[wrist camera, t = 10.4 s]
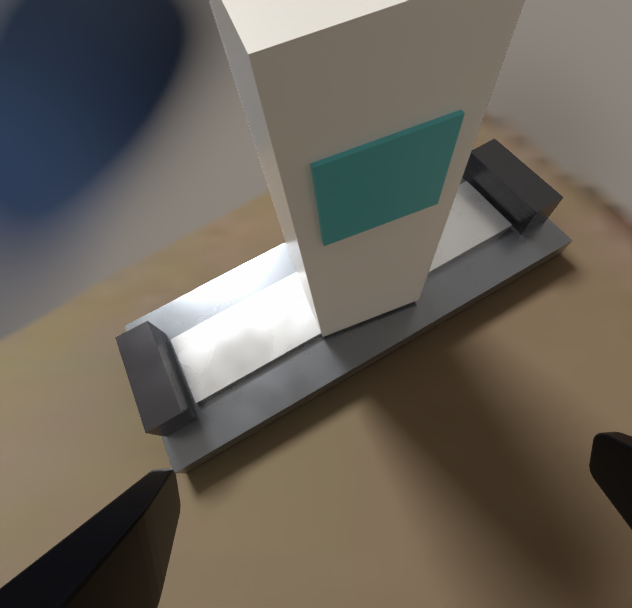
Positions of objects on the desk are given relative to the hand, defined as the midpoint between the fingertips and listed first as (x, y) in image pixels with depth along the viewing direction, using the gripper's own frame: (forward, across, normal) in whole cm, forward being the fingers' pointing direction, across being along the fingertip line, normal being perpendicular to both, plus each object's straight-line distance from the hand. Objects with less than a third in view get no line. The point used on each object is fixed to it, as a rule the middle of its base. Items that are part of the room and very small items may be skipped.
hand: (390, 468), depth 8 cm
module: (+12, -1, -2) cm, 12 cm away
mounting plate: (+13, -1, -1) cm, 13 cm away
